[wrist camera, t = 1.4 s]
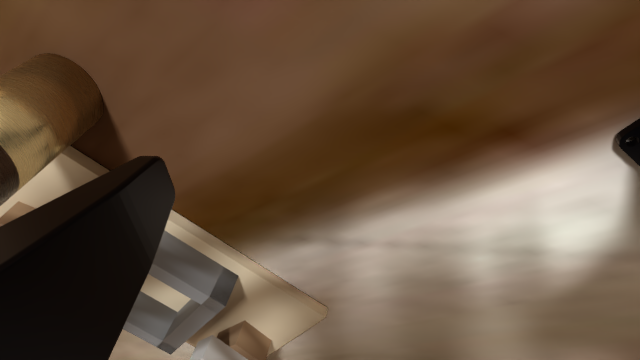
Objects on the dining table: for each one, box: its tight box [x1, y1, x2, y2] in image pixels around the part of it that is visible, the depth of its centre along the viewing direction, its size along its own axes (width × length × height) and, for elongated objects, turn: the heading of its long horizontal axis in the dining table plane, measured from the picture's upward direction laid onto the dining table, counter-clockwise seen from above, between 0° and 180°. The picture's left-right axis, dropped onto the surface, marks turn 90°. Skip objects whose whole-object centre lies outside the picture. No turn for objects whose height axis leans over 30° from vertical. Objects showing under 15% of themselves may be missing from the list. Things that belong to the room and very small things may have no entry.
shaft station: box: [0, 146, 328, 360], centre depth 31 cm, size 22×12×5 cm, turn 54°
